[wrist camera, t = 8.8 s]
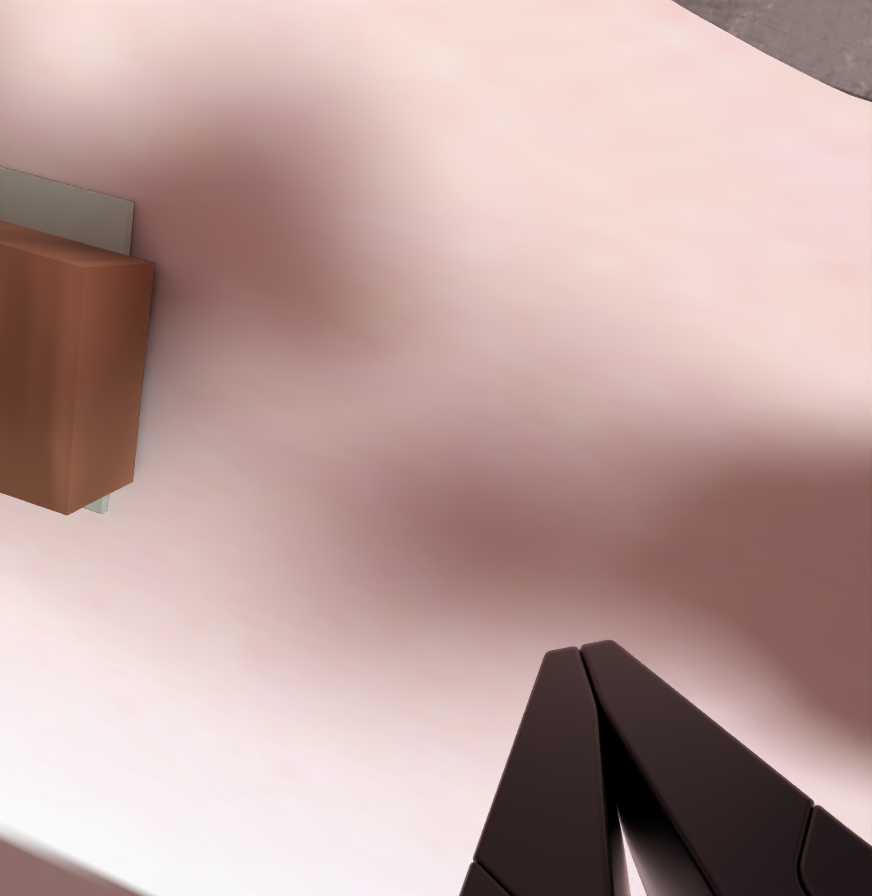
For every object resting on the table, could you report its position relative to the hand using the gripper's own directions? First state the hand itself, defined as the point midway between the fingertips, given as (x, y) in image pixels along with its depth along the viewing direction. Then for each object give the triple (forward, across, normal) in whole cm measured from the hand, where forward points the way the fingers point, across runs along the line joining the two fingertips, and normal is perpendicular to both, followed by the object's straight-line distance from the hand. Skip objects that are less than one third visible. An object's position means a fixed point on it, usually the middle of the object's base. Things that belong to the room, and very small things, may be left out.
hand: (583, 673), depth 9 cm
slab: (+13, +11, -2) cm, 17 cm away
